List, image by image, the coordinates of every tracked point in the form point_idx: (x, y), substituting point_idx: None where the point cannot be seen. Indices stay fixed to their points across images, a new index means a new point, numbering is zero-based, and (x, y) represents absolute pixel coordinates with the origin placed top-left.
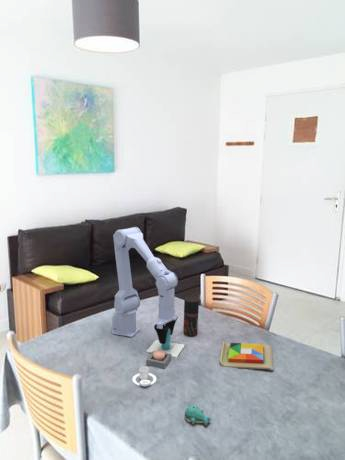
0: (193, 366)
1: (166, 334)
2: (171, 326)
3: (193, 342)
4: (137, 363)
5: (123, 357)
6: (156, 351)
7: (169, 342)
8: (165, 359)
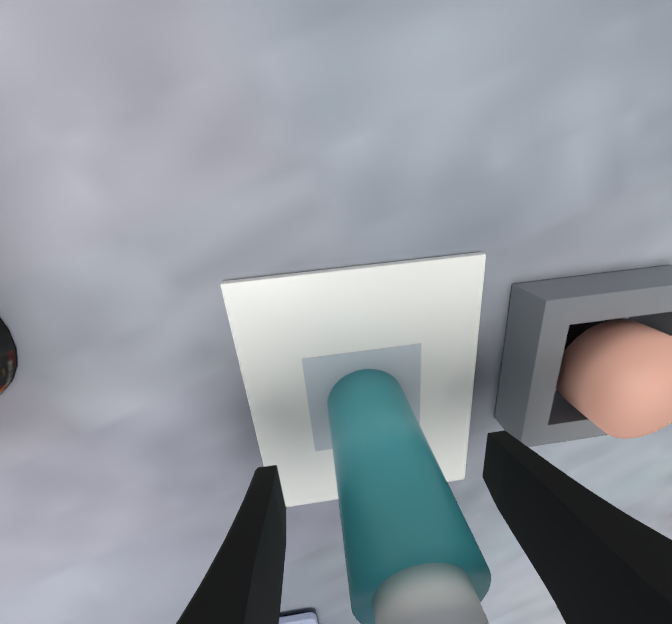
0: (607, 4)
1: (643, 539)
2: (258, 604)
3: (88, 227)
4: (609, 446)
5: None
6: (622, 423)
7: (392, 411)
8: (654, 304)
